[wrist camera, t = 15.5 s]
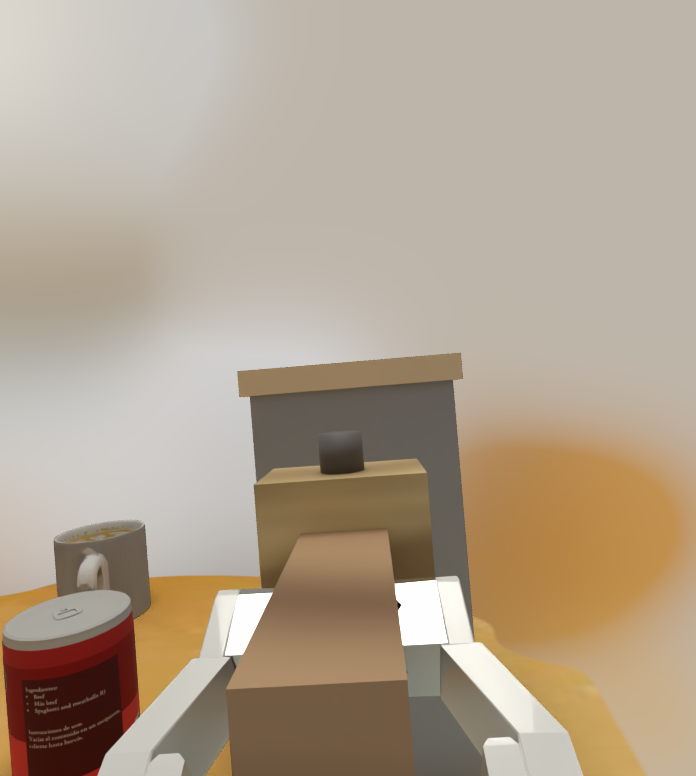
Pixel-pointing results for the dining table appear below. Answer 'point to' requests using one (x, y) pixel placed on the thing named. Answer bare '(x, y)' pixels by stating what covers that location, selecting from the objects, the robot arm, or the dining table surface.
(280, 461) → the stand
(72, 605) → the canned food
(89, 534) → the coffee mug
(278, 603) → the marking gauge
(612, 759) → the dining table surface
